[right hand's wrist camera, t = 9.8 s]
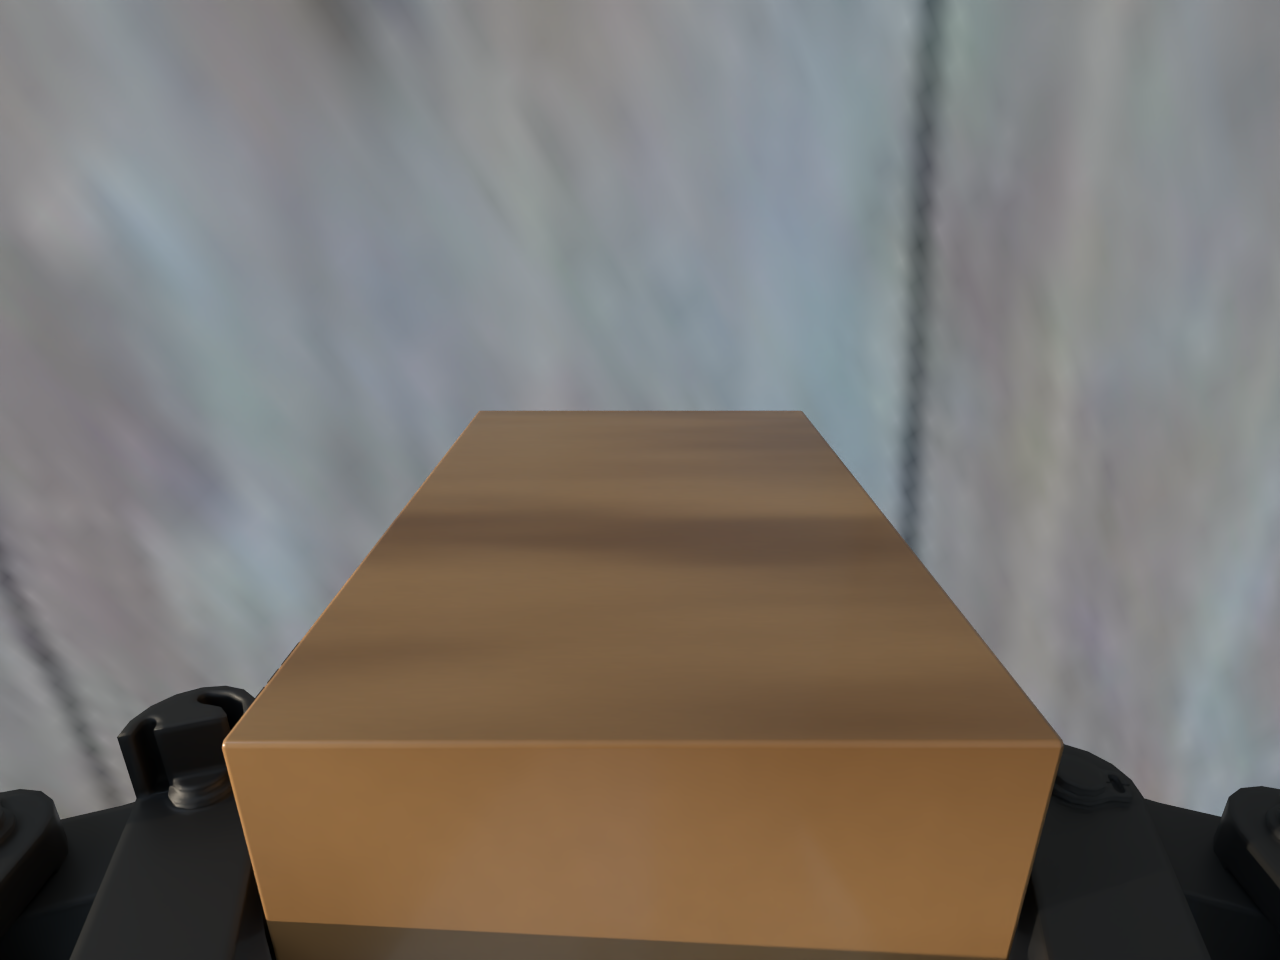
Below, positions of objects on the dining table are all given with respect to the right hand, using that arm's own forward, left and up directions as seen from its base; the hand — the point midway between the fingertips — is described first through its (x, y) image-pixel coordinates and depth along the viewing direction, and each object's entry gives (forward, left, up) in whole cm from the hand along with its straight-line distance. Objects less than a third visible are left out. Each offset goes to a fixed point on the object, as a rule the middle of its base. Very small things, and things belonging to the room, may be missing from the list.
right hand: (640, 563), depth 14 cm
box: (+4, +6, -1) cm, 7 cm away
